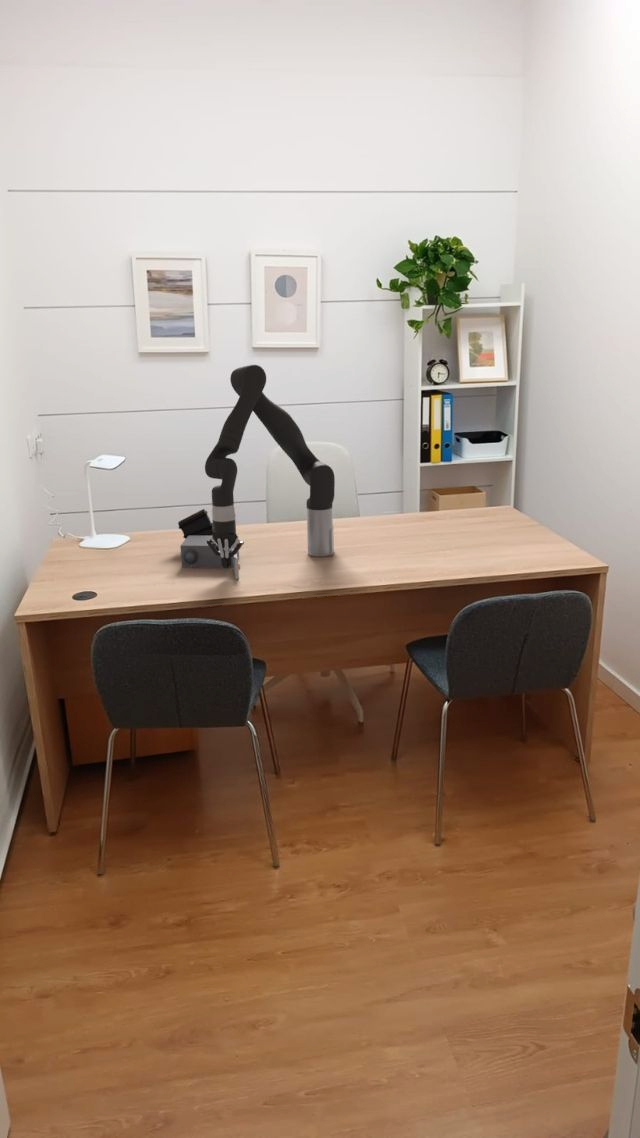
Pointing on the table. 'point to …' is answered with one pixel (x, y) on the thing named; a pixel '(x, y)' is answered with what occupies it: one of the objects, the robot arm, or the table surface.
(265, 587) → the table surface
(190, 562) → the camera box
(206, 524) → the black piece
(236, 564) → the side door
